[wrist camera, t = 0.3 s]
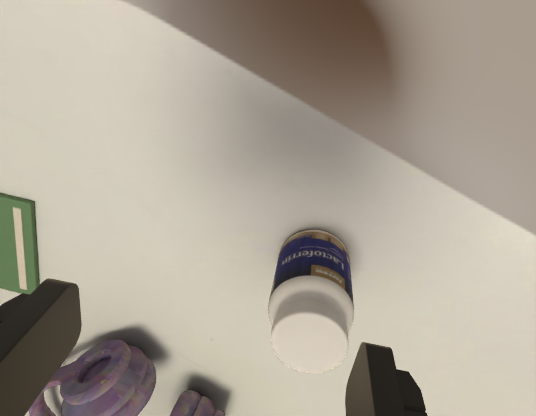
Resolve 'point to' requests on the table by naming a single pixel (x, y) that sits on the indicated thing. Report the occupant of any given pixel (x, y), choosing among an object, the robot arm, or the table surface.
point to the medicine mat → (18, 245)
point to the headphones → (114, 385)
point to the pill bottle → (311, 302)
